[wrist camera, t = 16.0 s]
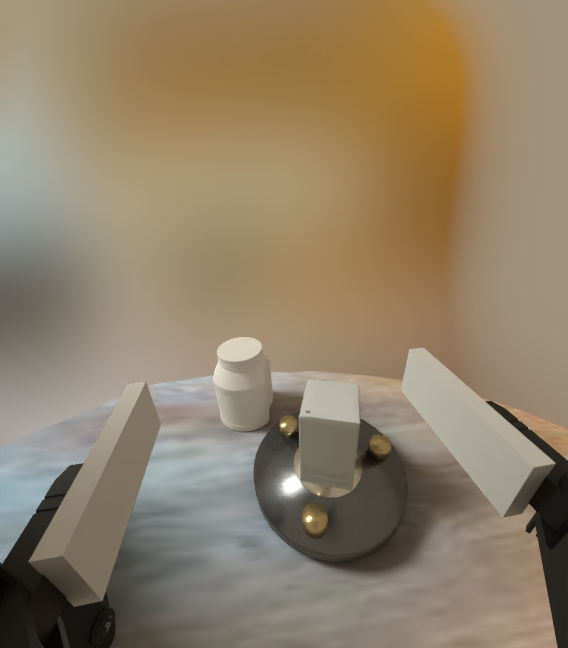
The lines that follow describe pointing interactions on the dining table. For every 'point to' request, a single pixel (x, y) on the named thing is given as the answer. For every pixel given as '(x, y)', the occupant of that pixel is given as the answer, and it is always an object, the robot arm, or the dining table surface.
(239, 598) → the dining table surface
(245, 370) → the jar
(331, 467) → the supplement box
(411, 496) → the dining table surface
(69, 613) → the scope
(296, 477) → the base
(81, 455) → the dining table surface
